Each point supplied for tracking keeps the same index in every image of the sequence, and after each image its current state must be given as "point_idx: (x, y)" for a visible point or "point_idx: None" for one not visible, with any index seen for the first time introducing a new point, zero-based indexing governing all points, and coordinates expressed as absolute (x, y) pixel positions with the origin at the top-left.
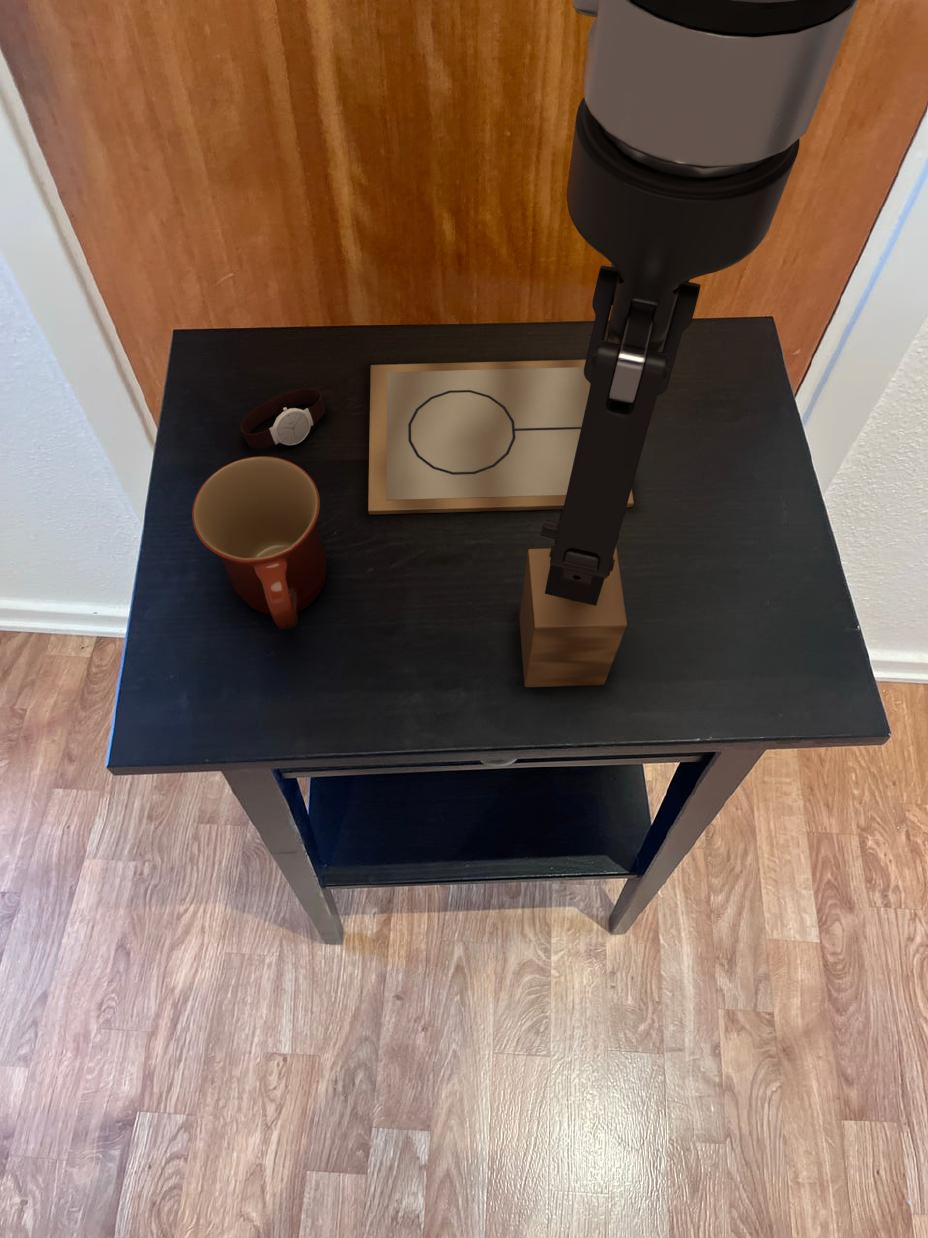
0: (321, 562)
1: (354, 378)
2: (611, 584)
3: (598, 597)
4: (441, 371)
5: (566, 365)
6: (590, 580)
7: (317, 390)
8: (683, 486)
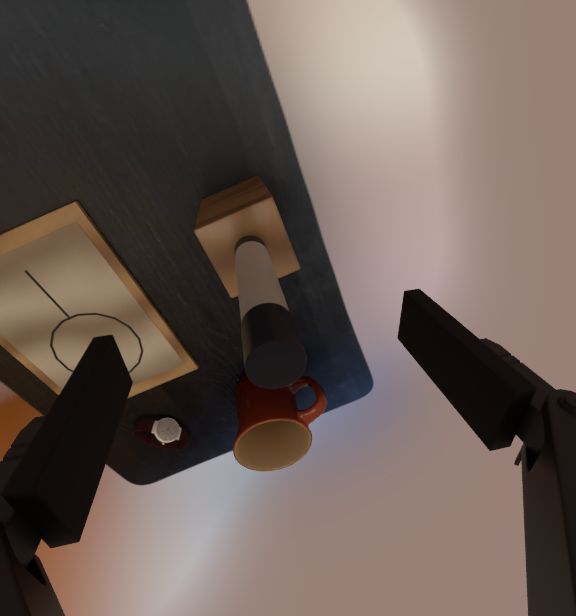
0: None
1: None
2: (237, 222)
3: (429, 297)
4: (53, 380)
5: None
6: (508, 352)
7: (132, 433)
8: (17, 156)
